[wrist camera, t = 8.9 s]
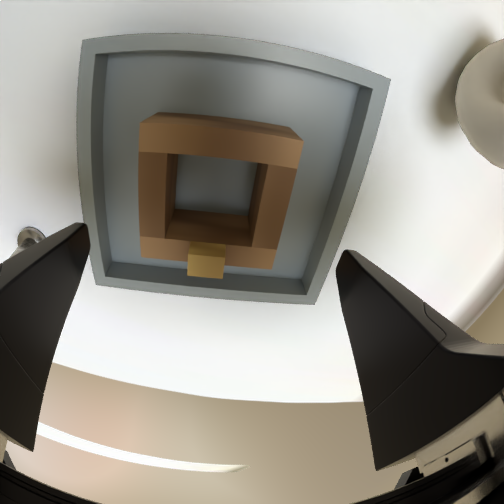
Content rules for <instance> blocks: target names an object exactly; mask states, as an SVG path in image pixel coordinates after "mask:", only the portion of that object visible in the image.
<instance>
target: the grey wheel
mask: <svg viewBox="0 0 504 504" xmlns="http://www.w3.org/2000/svg"><path fill="white" fill-rule="evenodd" d="M455 104H456V110H457V116H458V122H459V124H460V126H461V129H462V130H463V132H464V134H465V135H466V137H467V139H468V140H469V142H470V144H471V145H472V146H473V148H474V149H475V150H476V151H477V152H478V153H480V154H481V155H482V156H483V157H485V158H486V159H487V160H488V161H489V162H490V163H492V164H493V165H495V166H497V167H499V168H502V169H504V39H502V40H499V41H497V42H495V43H492V44H490V45H488V46H487V47H485V48H484V49H483V50H481V51H480V52H478V53H477V54H476V55H475V56H474V57H473V58H472V59H471V60H470V61H469V63H468V64H467V65H466V66H465V68H464V70H463V72H462V74H461V76H460V78H459V80H458V84H457V90H456V96H455Z"/></svg>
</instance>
